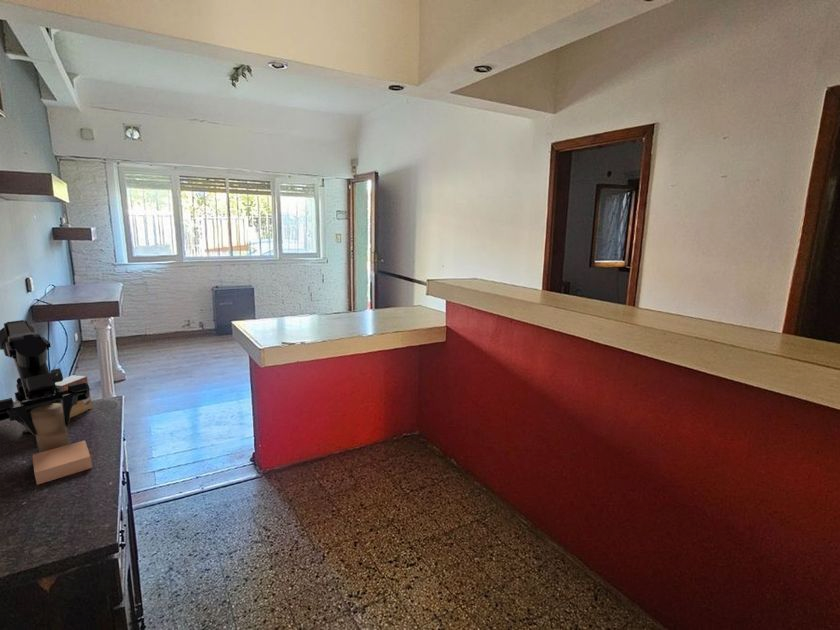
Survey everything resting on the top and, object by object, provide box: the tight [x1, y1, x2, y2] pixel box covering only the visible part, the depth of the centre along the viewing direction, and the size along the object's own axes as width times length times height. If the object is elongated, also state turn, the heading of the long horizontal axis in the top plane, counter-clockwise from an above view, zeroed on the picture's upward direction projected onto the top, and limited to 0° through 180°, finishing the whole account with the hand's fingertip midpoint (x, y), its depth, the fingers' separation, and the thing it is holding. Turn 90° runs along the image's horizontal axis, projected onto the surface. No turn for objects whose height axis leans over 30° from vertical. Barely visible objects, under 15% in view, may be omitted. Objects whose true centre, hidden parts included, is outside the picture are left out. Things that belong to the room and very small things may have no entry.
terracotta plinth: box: [32, 440, 93, 486], centre depth 103 cm, size 10×10×3 cm
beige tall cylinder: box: [30, 403, 71, 453], centre depth 109 cm, size 6×6×12 cm
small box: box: [55, 374, 93, 419], centre depth 130 cm, size 8×6×10 cm
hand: (51, 430), depth 107 cm, fingers closed on beige tall cylinder, 6 cm apart
